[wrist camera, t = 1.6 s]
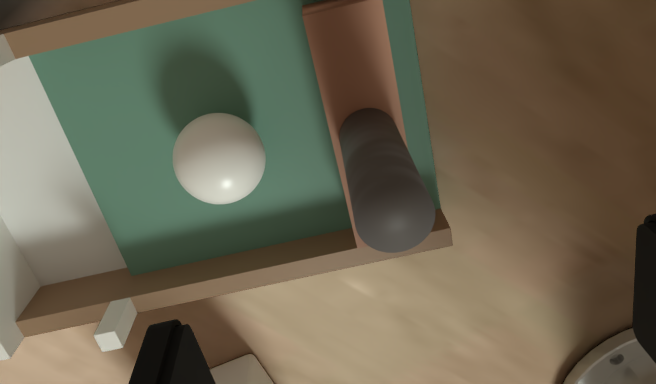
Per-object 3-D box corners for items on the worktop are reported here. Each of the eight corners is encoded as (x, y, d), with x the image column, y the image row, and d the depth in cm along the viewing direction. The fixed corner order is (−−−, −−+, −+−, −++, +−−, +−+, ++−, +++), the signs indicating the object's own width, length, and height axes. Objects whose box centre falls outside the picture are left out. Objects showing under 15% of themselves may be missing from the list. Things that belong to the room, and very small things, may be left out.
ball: (254, 92, 25) (246, 120, 21) (277, 170, 27) (274, 209, 23) (170, 112, 25) (148, 143, 21) (198, 188, 27) (182, 229, 23)
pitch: (393, -68, 24) (421, -66, 18) (436, 211, 30) (467, 275, 24) (-105, 56, 25) (-217, 92, 19) (35, 298, 31) (-21, 377, 26)
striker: (372, -12, 23) (419, 30, 14) (410, 204, 27) (464, 340, 18) (302, 5, 23) (303, 57, 14) (351, 216, 27) (377, 358, 19)
